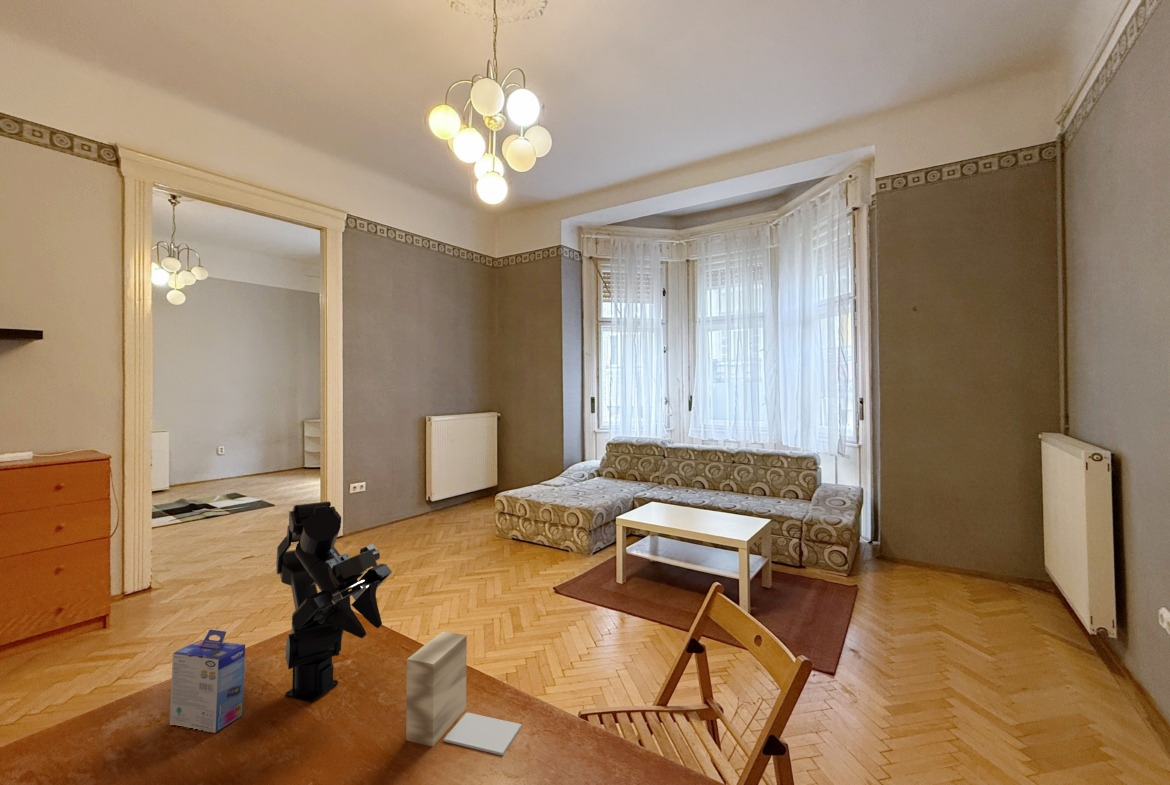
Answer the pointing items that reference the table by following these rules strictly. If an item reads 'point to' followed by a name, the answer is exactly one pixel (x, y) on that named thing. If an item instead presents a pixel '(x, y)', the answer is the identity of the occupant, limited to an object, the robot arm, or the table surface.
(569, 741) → the table surface
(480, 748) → the white ceramic tile
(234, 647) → the ink cartridge box
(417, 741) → the birch block
